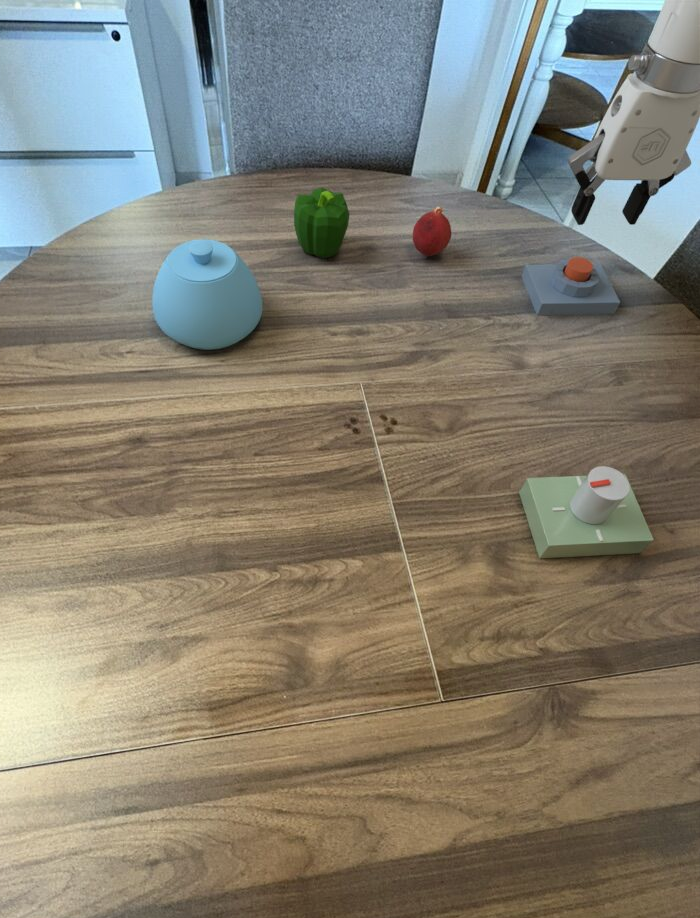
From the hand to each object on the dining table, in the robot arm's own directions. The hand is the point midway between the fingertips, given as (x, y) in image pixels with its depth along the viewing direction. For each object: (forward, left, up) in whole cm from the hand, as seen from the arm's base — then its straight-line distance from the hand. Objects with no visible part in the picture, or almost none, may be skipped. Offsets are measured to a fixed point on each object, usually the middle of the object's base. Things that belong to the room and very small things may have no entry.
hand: (603, 217), depth 83 cm
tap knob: (+11, +40, -10) cm, 43 cm away
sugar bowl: (+54, +4, -13) cm, 56 cm away
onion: (+20, -10, -13) cm, 26 cm away
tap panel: (+11, +40, -13) cm, 43 cm away
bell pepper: (+37, -12, -13) cm, 41 cm away
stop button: (0, 0, -9) cm, 9 cm away
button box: (0, 0, -13) cm, 13 cm away
